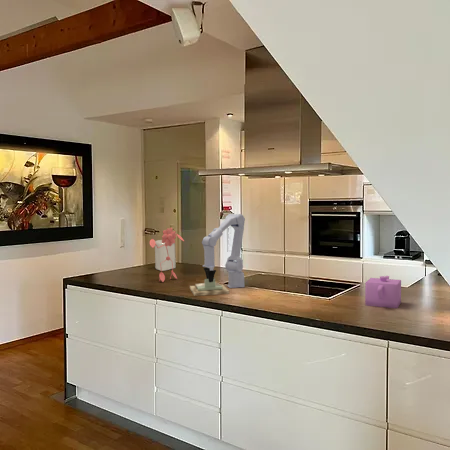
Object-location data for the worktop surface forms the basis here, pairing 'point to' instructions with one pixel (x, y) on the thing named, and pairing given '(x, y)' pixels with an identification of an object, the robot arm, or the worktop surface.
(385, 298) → the teapot
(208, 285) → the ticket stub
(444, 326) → the worktop surface
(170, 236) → the figurine
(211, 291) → the board
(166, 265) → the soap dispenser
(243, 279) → the robot arm
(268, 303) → the worktop surface
